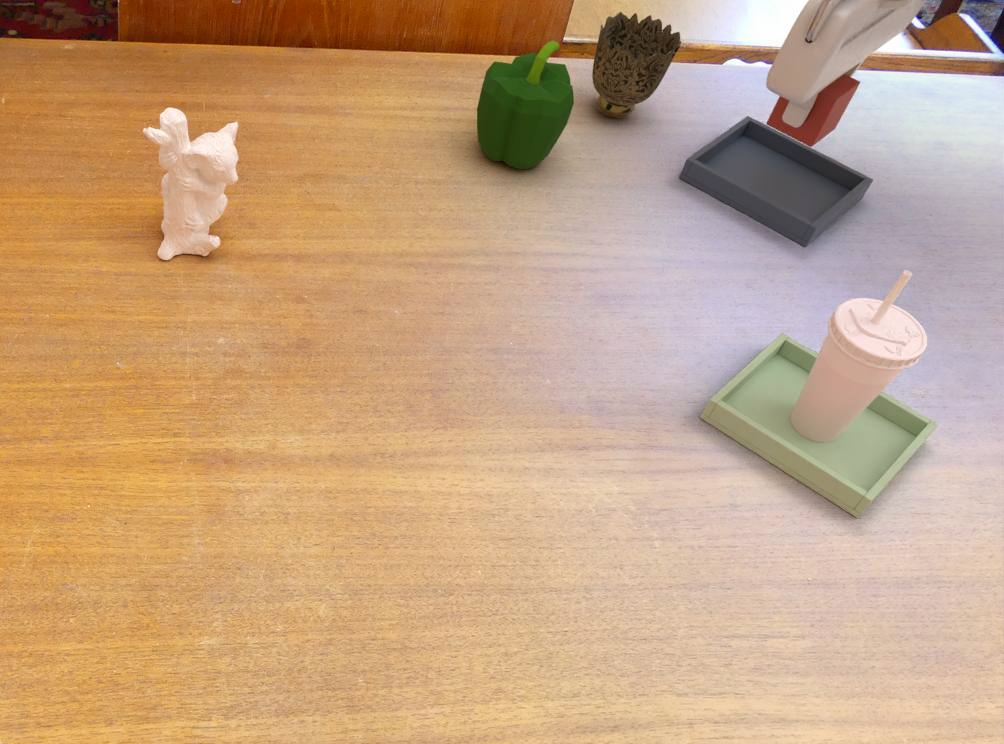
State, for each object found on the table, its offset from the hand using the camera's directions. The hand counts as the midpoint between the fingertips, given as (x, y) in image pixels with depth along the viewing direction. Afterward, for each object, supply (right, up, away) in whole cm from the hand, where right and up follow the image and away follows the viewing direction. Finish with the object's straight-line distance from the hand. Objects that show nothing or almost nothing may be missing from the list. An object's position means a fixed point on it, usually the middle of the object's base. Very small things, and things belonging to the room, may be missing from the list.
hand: (809, 110), depth 97 cm
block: (0, -1, +1) cm, 2 cm away
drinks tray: (-6, -29, -12) cm, 33 cm away
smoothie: (-6, -29, -13) cm, 32 cm away
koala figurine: (-54, -13, -4) cm, 56 cm away
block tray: (0, -5, +6) cm, 8 cm away
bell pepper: (-24, -2, +7) cm, 25 cm away
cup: (-13, +5, +12) cm, 19 cm away
